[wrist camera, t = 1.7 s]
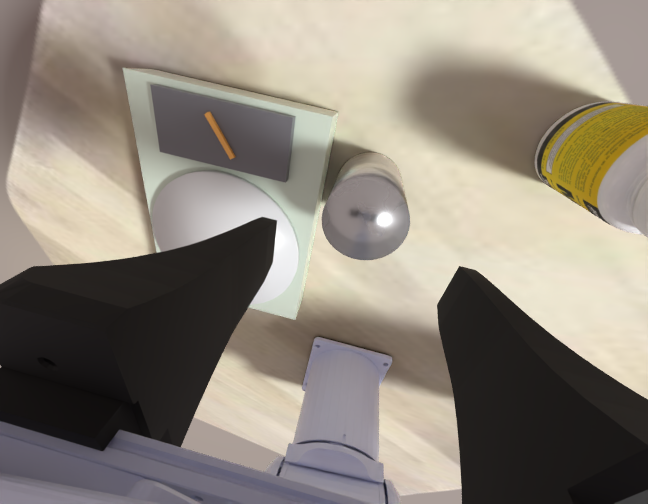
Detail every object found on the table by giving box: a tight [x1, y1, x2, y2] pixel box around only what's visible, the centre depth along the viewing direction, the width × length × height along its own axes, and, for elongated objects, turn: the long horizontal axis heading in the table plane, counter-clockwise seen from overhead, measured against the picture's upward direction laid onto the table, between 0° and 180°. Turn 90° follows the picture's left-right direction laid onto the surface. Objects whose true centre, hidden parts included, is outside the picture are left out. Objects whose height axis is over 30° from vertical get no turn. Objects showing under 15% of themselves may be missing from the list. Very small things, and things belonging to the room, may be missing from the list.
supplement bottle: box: [535, 102, 648, 237], centre depth 12 cm, size 5×5×8 cm
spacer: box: [322, 152, 410, 260], centre depth 16 cm, size 4×4×6 cm
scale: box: [123, 68, 338, 320], centre depth 20 cm, size 16×12×3 cm
